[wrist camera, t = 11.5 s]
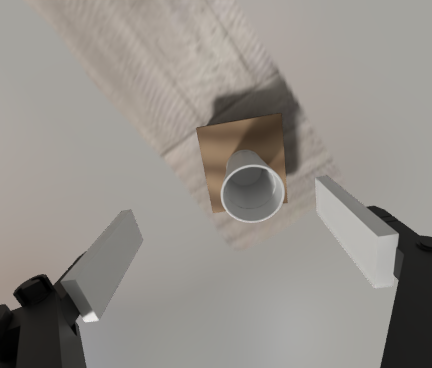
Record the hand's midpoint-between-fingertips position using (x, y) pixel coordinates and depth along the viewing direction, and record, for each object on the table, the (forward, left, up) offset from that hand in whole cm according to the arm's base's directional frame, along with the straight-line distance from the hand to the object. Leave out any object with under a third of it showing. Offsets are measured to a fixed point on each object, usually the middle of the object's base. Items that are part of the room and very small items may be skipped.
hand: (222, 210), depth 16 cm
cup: (+4, +3, -24) cm, 24 cm away
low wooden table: (+4, +3, -30) cm, 30 cm away
